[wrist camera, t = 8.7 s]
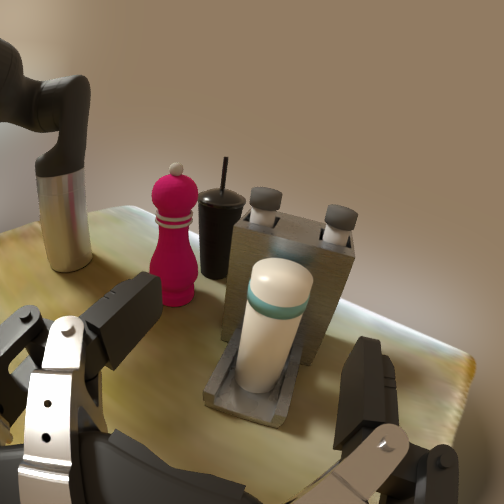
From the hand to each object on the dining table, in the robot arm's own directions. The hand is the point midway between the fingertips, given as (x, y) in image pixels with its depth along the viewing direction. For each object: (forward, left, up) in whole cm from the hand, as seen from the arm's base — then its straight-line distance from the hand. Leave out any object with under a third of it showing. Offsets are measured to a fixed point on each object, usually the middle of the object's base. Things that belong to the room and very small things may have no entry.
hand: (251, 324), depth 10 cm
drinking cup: (-13, +30, -20) cm, 38 cm away
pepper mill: (-16, +21, -20) cm, 33 cm away
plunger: (-4, +19, -7) cm, 21 cm away
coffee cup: (0, +11, -18) cm, 22 cm away
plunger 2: (+4, +19, -7) cm, 21 cm away
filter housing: (0, +14, -19) cm, 24 cm away
